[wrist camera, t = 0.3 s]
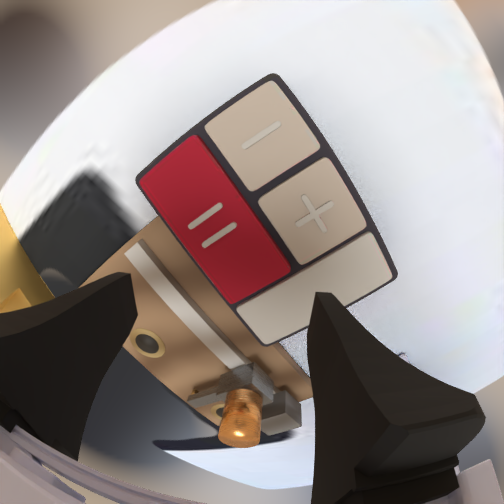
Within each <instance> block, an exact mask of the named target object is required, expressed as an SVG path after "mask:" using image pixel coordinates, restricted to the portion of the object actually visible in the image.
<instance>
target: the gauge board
mask: <svg viewBox="0 0 504 504" xmlns="http://www.w3.org/2000/svg"><path fill="white" fill-rule="evenodd" d="M116 272H124V273H131V278H132V285H133V290H134V296H135V301H136V307H137V312H138V316H137V319H136V321H135V324H134V326H133V328H132V330H131V332H130V335H129V336H128V338H127V339H126V341H125V343H124V344H123V347H125V349H127V350H128V351H129V352H130V353H131V354H132V355H133V356H134V357H135V358H136V359H137V360H138V361H139V362H140V363H141V364H142V365H143V366H144V367H145V368H147V369H148V370H149V371H150V372H151V373H152V374H153V375H154V376H155V377H157V378H158V379H159V380H160V381H161V382H162V383H163V384H165V385H166V386H167V387H168V388H169V389H171V390H172V391H173V392H174V393H175V394H177V395H178V396H179V397H180V398H182V399H183V400H184V401H185V402H187V399H188V396H189V395H191V393H192V390H193V389H196V390H198V391H199V392H201V391H204V390H207V389H210V388H213V387H216V386H218V384H219V379H220V375H221V374H224V373H227V372H229V371H232V370H234V369H237V368H239V367H242V366H244V365H247V364H249V363H252V362H255V363H256V364H257V365H258V366H259V367H260V368H261V369H262V370H263V371H264V372H265V373H266V374H267V375H268V376H269V377H270V378H271V379H272V380H273V381H274V391H273V402H272V403H269V404H266V405H263V406H262V417H261V429H260V430H262V431H263V432H265V433H266V434H267V435H273V434H277V433H280V432H284V431H288V430H291V429H294V428H298V427H301V426H302V420H301V404H300V403H299V402H300V401H303V400H306V399H309V398H311V397H313V392H312V385H311V379H310V378H309V377H308V376H307V374H306V373H305V372H304V371H303V370H302V369H301V368H300V367H299V365H298V364H297V363H296V362H295V361H294V360H293V359H292V357H291V356H290V355H289V354H288V353H287V352H286V351H285V349H284V348H283V347H282V346H281V345H280V344H279V343H278V342H277V343H275V344H273V345H271V346H268V347H264V346H262V345H261V344H260V343H259V342H258V341H257V340H256V339H255V337H254V336H253V335H252V334H251V333H250V332H249V330H248V329H247V328H246V327H245V326H244V324H243V323H242V322H241V321H240V320H239V318H238V317H237V316H236V315H235V314H234V312H233V311H232V310H231V309H230V307H229V306H228V305H227V304H226V303H225V301H224V300H223V299H222V298H221V296H220V295H219V294H218V293H217V291H216V290H215V289H214V288H213V286H212V285H211V284H210V283H209V281H208V280H207V279H206V278H205V276H204V275H203V274H202V272H201V271H200V270H199V269H198V267H197V266H196V265H195V263H194V262H193V261H192V260H191V258H190V257H189V256H188V254H187V253H186V252H185V250H184V249H183V248H182V246H181V245H180V244H179V242H178V241H177V240H176V238H175V237H174V236H173V234H172V233H171V232H170V230H169V229H168V228H167V226H166V225H165V224H164V222H163V221H162V220H161V218H160V217H159V216H157V217H156V218H155V219H154V220H153V221H151V222H150V223H149V224H148V225H147V226H145V227H144V228H143V229H142V230H141V231H140V232H138V233H137V234H136V235H135V236H134V237H133V238H132V239H130V240H129V241H128V242H127V243H126V244H125V245H124V246H123V247H121V248H120V249H119V250H118V251H117V252H116V253H115V254H114V255H113V256H112V257H110V258H109V259H108V260H107V261H106V262H105V263H104V264H103V265H102V266H101V267H100V268H99V269H98V270H97V271H96V272H94V273H93V274H92V275H91V276H90V277H89V278H88V279H87V280H86V281H85V282H84V283H83V284H82V285H81V286H80V287H82V286H84V285H87V284H89V283H91V282H93V281H96V280H98V279H100V278H102V277H105V276H107V275H110V274H113V273H116ZM80 287H79V288H80ZM187 403H188V402H187ZM188 404H189V403H188ZM224 404H225V402H223V401H218V402H215V403H212V404H208V405H205V406H201V407H197V408H194V407H193V406H192V405H190V404H189V405H190V406H192V407H193V408H194V409H196V410H197V411H198V412H200V413H201V414H202V415H204V416H205V417H206V418H208V419H209V420H211V421H212V422H213V423H215V424H216V425H218V426H219V425H221V420H222V415H223V409H224Z"/></svg>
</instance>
